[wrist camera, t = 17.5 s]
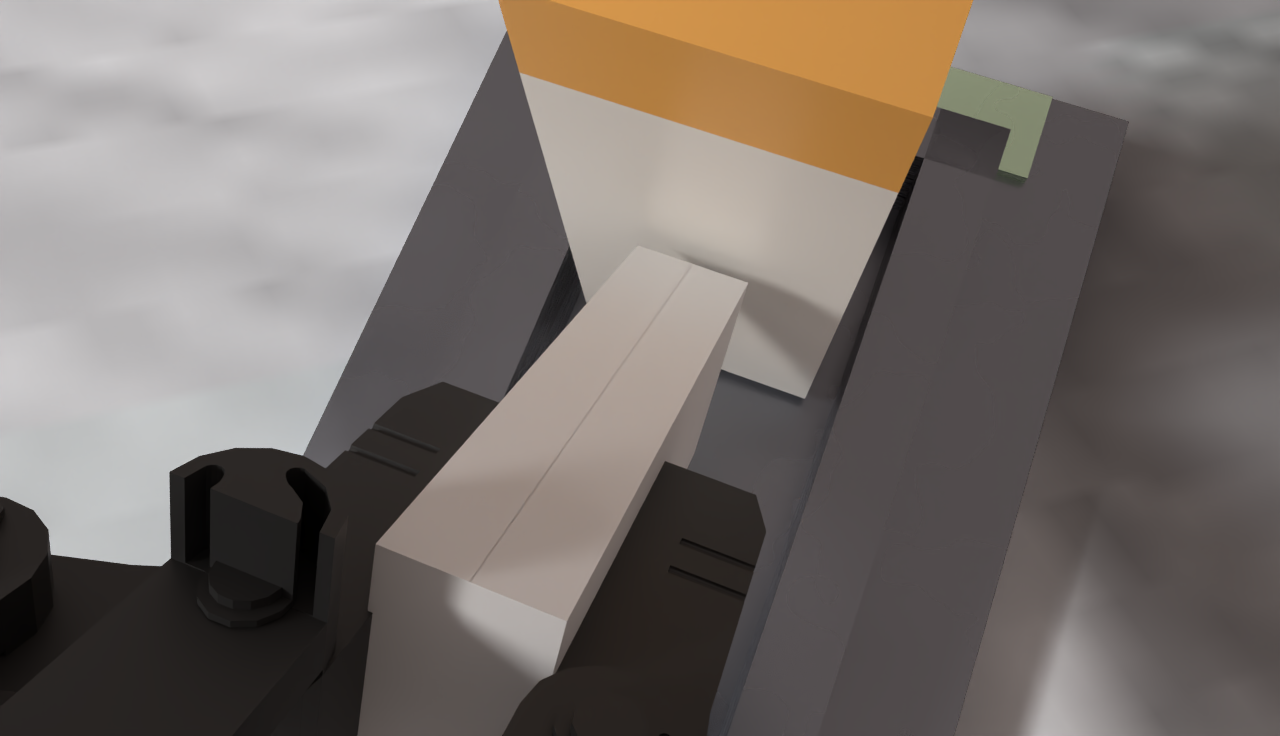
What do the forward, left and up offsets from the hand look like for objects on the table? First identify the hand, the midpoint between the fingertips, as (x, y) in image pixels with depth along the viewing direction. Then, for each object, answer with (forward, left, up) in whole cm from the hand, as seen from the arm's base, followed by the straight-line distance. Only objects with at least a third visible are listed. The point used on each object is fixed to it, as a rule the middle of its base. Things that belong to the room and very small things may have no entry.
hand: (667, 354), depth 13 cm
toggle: (-2, +2, -4) cm, 5 cm away
